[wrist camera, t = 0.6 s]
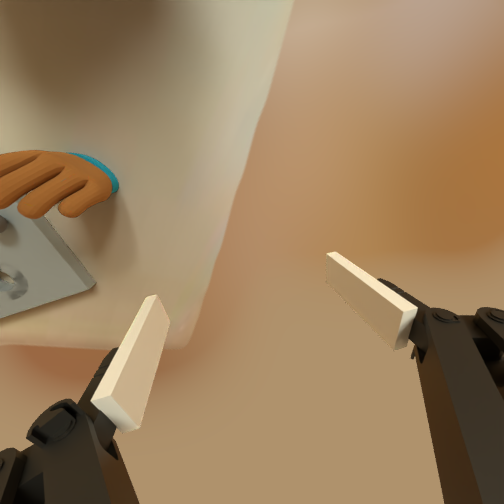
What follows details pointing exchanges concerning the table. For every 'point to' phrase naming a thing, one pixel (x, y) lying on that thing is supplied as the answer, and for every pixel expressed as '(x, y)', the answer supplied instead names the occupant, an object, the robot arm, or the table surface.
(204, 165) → the table surface
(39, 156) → the toy
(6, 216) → the grey flat plate
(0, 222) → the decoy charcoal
